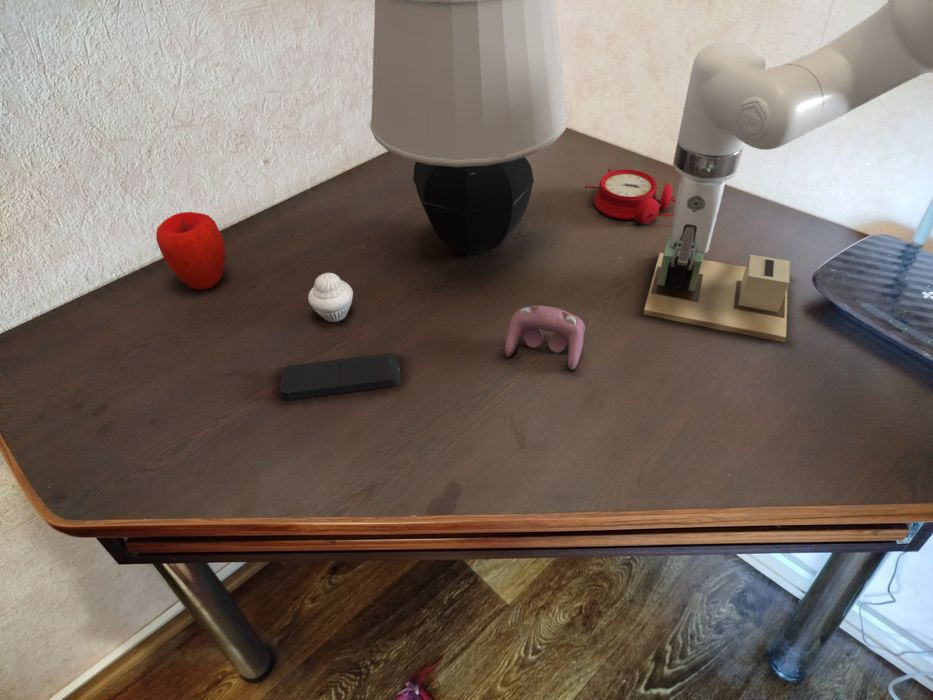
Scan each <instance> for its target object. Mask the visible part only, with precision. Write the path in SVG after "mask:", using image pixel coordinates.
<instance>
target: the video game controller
mask: <svg viewBox="0 0 933 700" xmlns="http://www.w3.org/2000/svg"><path fill="white" fill-rule="evenodd" d="M542 331H547V332H550V333H553V334H552V335H551V336H550V338H549V339H548V343H547V346H548V349H550V351H552V352H553V353H561V352H562V351H564V350H565V349H566V347H567V346H568V353H567V366H568V369H569V370H574V369H576V368H577V366H578V364H579V361H580V359H581V354H582V350H583V346H584V337H585V331H586V325H585V323H584V321H583V320H582V319H581V318H580V317H579V316H577V315H574V314H572V313H570V312H569V311H567V310H564V309H562V308H558V307H553V306H549V305H527V306H522V307H520V308H518V309H517V311H516V312H514V314H513V315H512V317H511V319H510V321H509V324H508V327H507V332H506V336H505V343H504V354H505V356H506V357H507V358H510V357H512V355H513V354H514V353H515V351H516V349H517V347H518V344H519V342H520V340H521V337H522V336H523V339H524V342H525V344H526V345H527V346H528V348H529V347H530V348H537V347H539V346H541V345H542V343H543V341H544V334H543V332H542Z"/></svg>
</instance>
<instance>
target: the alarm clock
mask: <svg viewBox="0 0 933 700" xmlns="http://www.w3.org/2000/svg"><path fill="white" fill-rule="evenodd" d="M584 188H585V189H587V188H588V189H595V190H596V189H597V190H598V191H597V192H596V193H595V195H594V197H593V203H594V206H595V209H597V210H598V211H599V212H600V213H602V214H604V215H605V216H607V217H611V218H613V219H619V220H626V221H628V220H635V221H636V222H637V223H638V224H640V225H647V224H650V223H651V222H652V221H654V220H655V218H657V216H659V217H671V216H672V217H673V215H674V212H673V213H670V214H661V213H659V211H665V210H667V209H668V207H669V205H670V203H671V201H672V202H673V203H676V197H675V196H673V195H672V194H673V187H672V185H671V184H669V183H665V184H664V187H663V189H662V194H661V198H660V199H657V197H656V193H657V189H658V187H657V182H656V180H655V179H654V178H653V177H652V176H651V175H650V174H649V173H646V172H643V171H641V170H636V169H627V168H626V169H624V168H623V169H615V170H611V169H610V168H608V169H607V172H606V173H605V174H604V175H603V176H601V178H600V181H599V186H590V185H589V186H588V185H585V186H584Z"/></svg>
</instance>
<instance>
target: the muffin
mask: <svg viewBox="0 0 933 700" xmlns="http://www.w3.org/2000/svg"><path fill="white" fill-rule="evenodd" d="M353 297H354V291H353V288H352V287H351V285H349V283H347V282H346V281H344V280H342V279H341V277H340V276H339V275H337V274H335V273H333V272H325V273H321V275H318V276H317V278H315V280H314V283H313V287H311V289H310V290H309V292H308V296H307V299H308V303H309V305H310V307H311V308H312V309H313V310H314V311H315V312H316V313H317V314H318V315H319V316H320V317H321V318H323V319H324V320H325V321H326V322H330V323H336V322H337V323H338V322H340V321H342V320H344V319H345V318H346V317H347V315H348V312H349V311H350V309H351V306H352V303H353Z"/></svg>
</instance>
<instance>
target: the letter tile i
mask: <svg viewBox="0 0 933 700" xmlns="http://www.w3.org/2000/svg"><path fill="white" fill-rule="evenodd" d="M670 239H671V234H670V235H669V234H668V237H667V240H666V243H665V247H664V251H663V253H664V255H663V260H662V264H661V269H660V274H659V279H658V283H657V284H658V285H663V286H664V284H665V280H666V275H667V271H668V266H669V262H671V261H672V257H673V252H674V249H673V248H672V247H671V246H670ZM679 243H682V241H681V240H679ZM692 245H695V243H693V242H692ZM679 253H680V250H678V253H677V256H679ZM690 256H691V252H690V254H689V258H690ZM702 260H704V254H702V253H698V251H696V254H695V258H694V262H693V266H694V269H693V273H692V277H691V281H690V285H689V289H688V290H690V291H695V287H696V283H697V279H698V276H699V272H700V268H701V264H702Z"/></svg>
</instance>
